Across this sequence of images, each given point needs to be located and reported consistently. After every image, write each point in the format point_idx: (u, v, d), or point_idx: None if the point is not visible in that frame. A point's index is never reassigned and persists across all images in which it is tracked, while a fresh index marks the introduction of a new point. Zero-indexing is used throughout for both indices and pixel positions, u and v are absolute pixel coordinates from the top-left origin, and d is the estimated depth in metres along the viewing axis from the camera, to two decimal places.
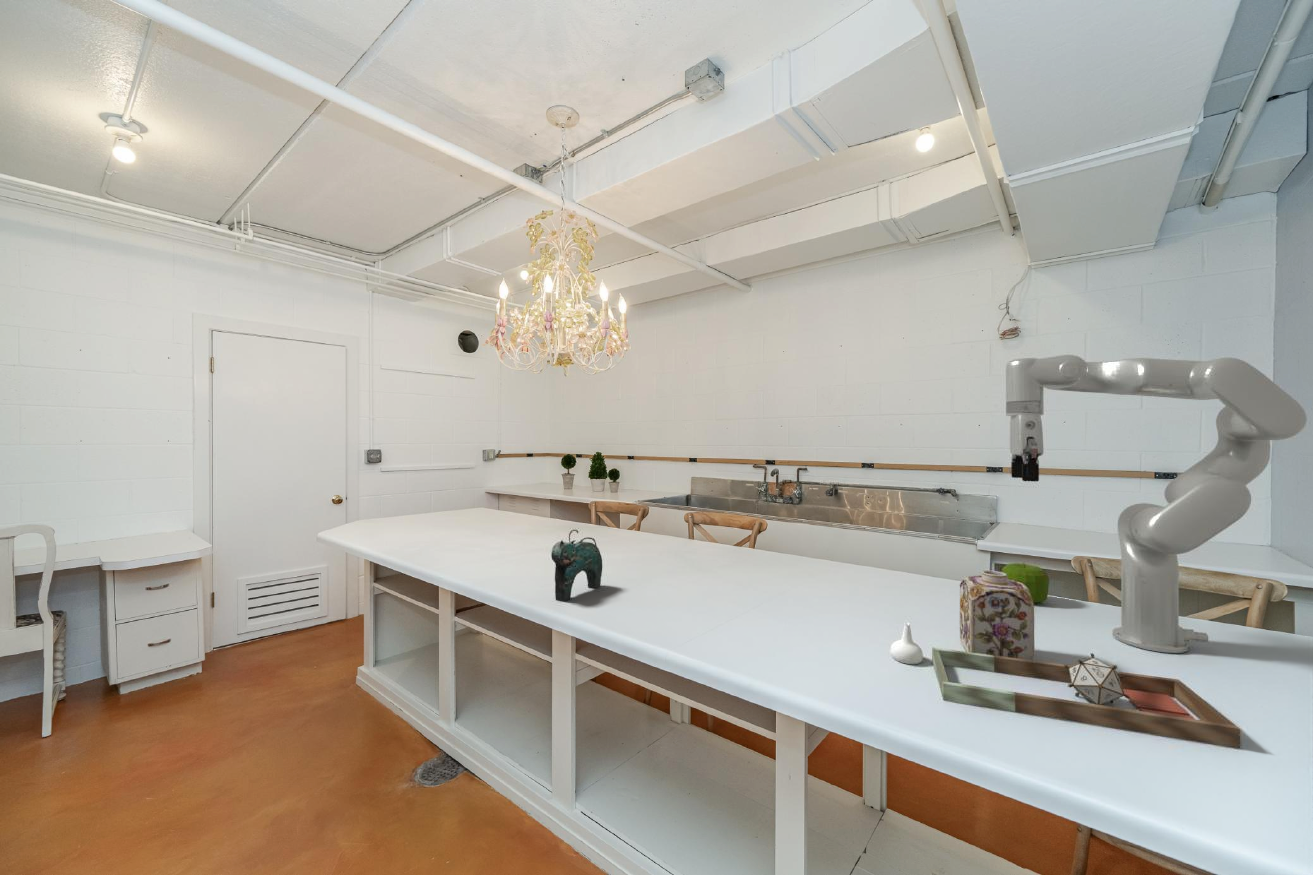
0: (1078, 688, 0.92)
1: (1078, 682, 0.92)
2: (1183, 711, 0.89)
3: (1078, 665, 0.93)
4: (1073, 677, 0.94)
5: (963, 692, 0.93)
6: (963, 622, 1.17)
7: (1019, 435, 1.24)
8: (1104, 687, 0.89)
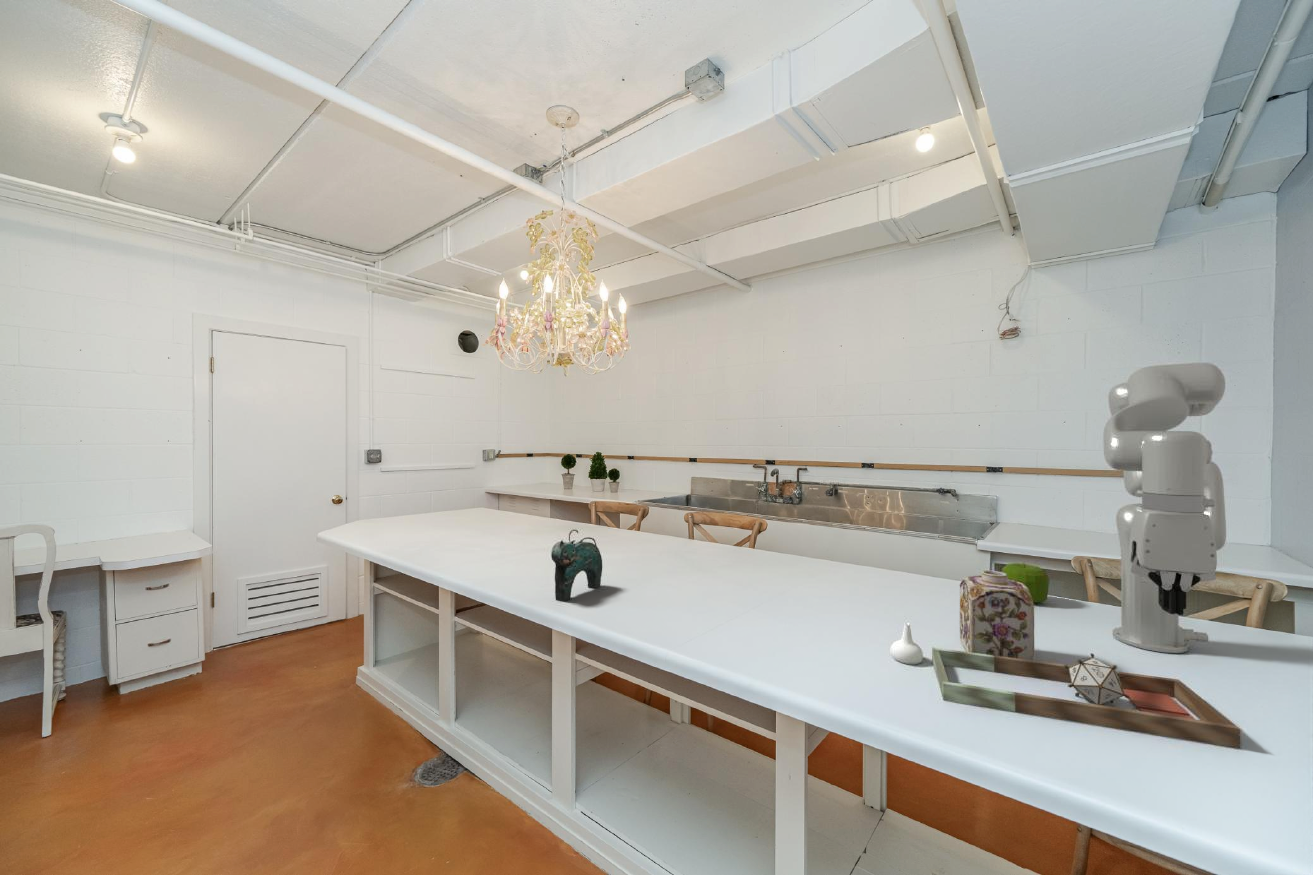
0: (1078, 688, 0.92)
1: (1078, 682, 0.92)
2: (1183, 711, 0.89)
3: (1078, 665, 0.93)
4: (1073, 677, 0.94)
5: (963, 692, 0.93)
6: (963, 622, 1.17)
7: (1213, 545, 0.85)
8: (1104, 687, 0.89)
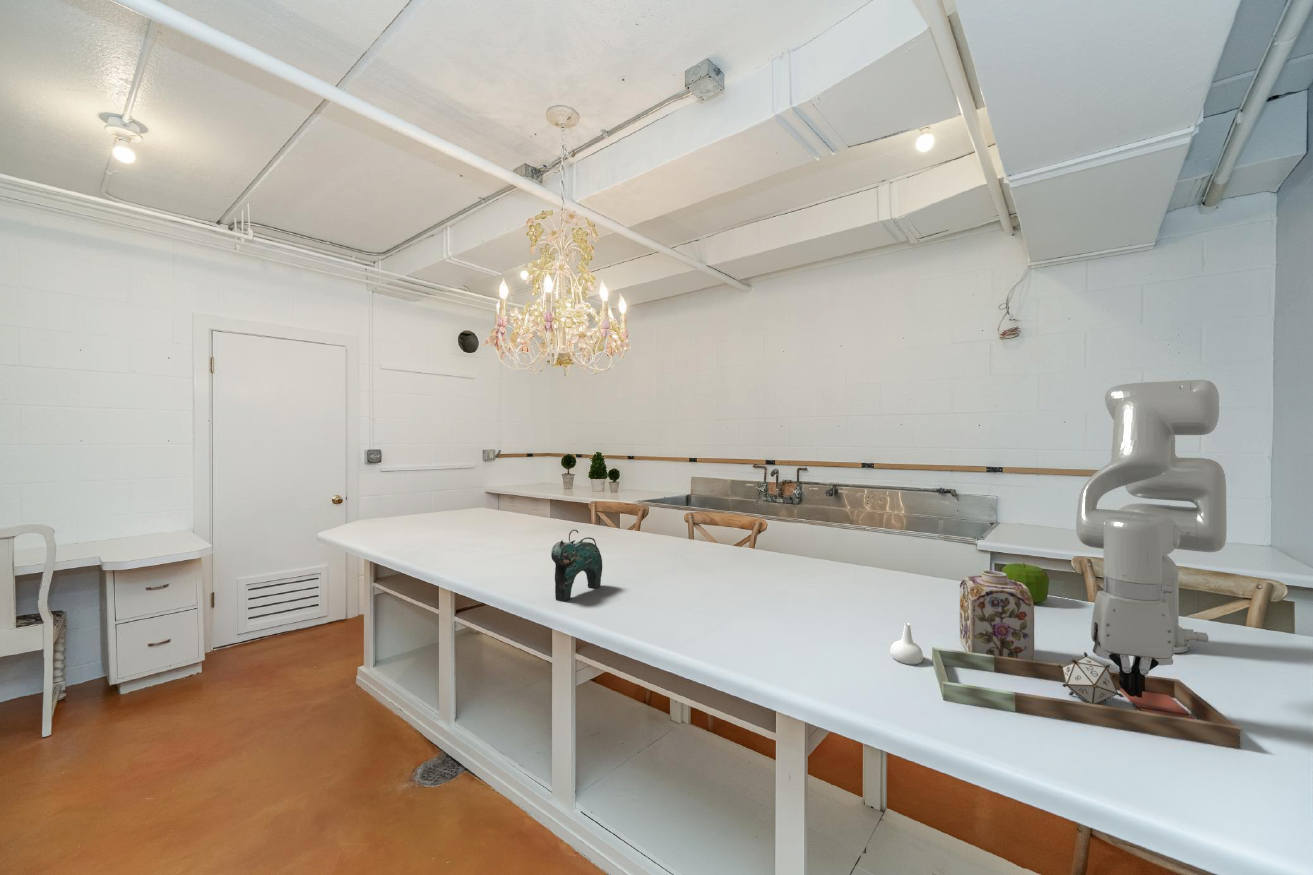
0: (1072, 687, 0.92)
1: (1072, 681, 0.92)
2: (1183, 711, 0.89)
3: (1072, 664, 0.94)
4: (1067, 676, 0.94)
5: (963, 692, 0.93)
6: (963, 622, 1.17)
7: (1170, 632, 0.87)
8: (1098, 686, 0.90)
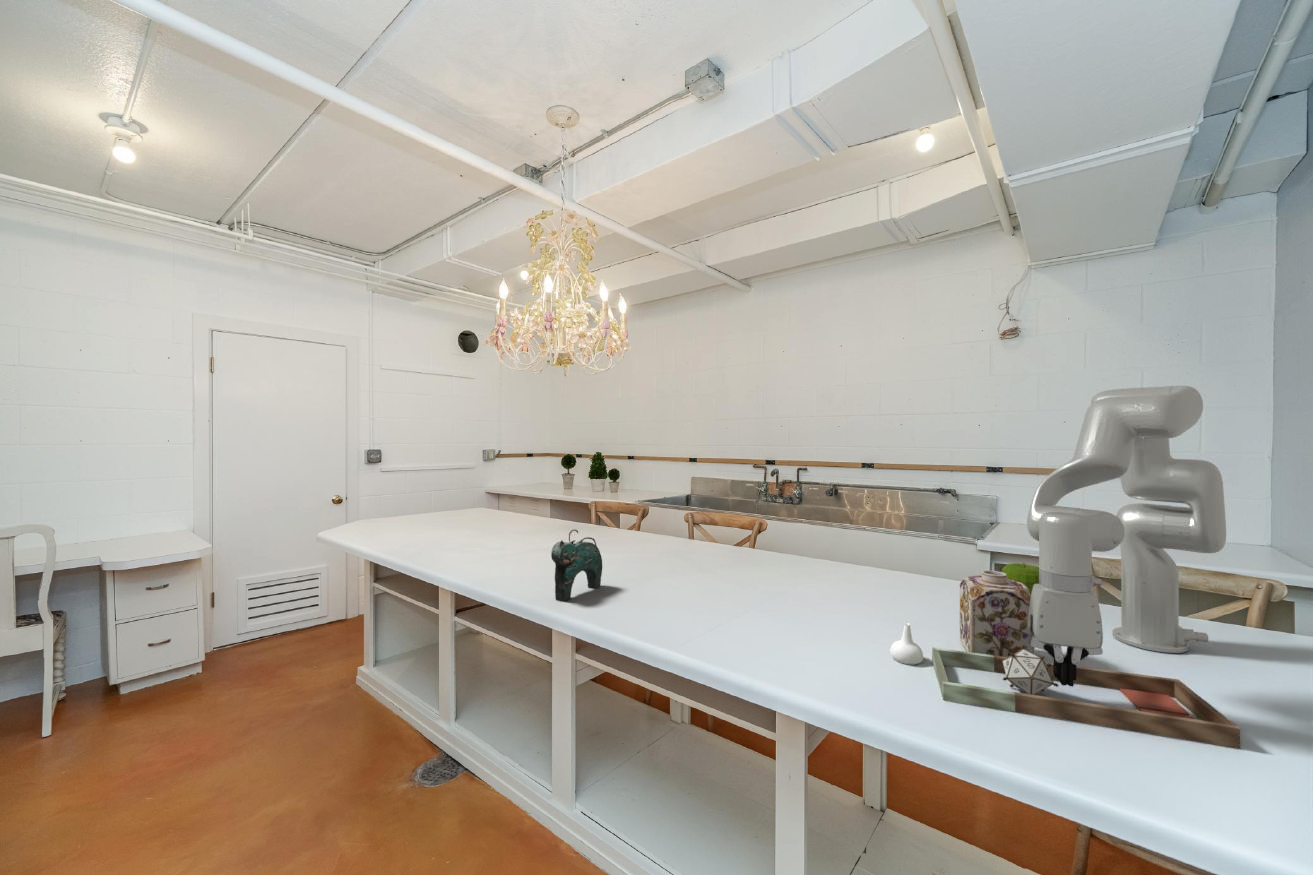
0: (1012, 680, 0.95)
1: (1011, 675, 0.95)
2: (1183, 711, 0.89)
3: (1010, 658, 0.97)
4: (1007, 670, 0.97)
5: (963, 692, 0.93)
6: (963, 622, 1.17)
7: (1099, 623, 0.91)
8: (1035, 678, 0.93)
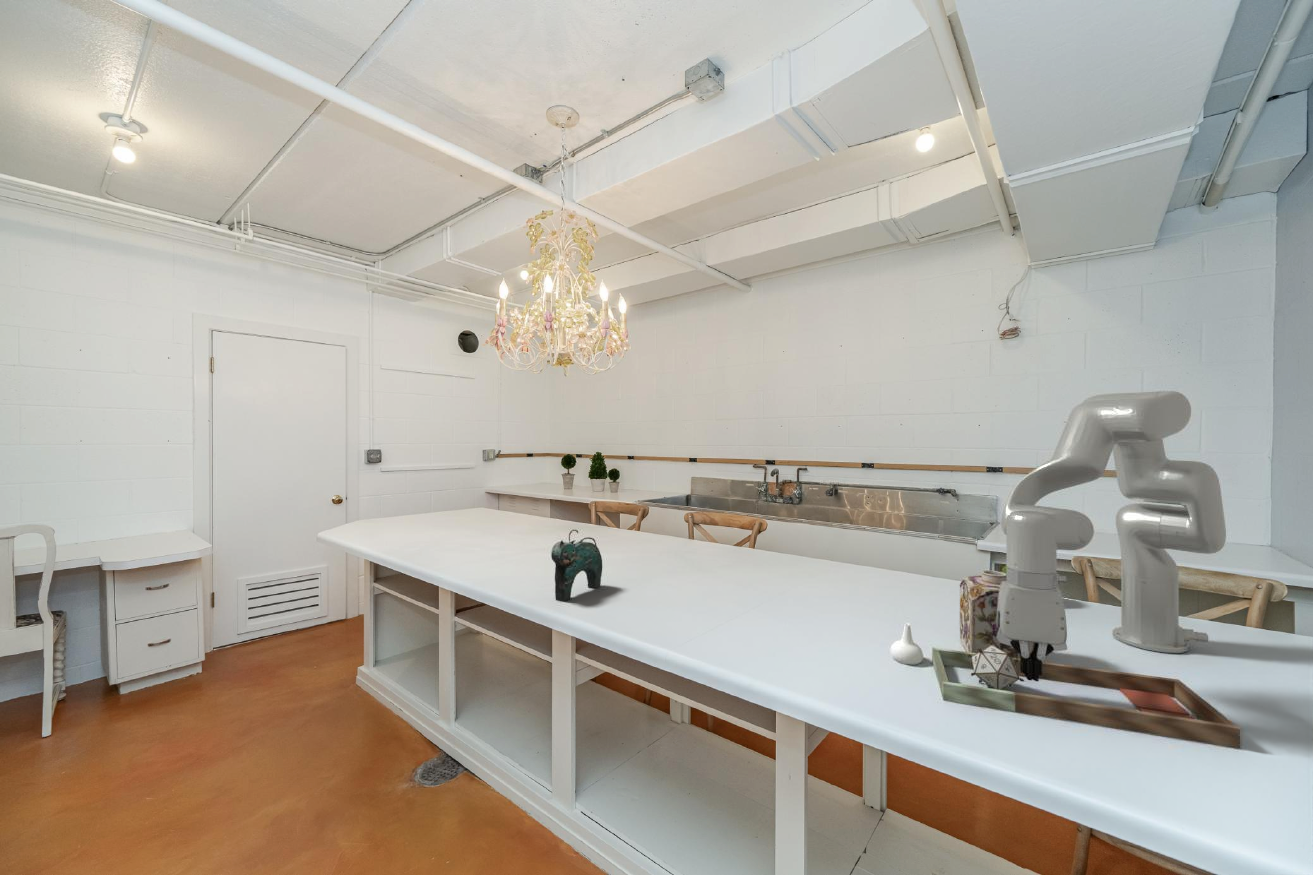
0: (979, 676, 0.97)
1: (979, 670, 0.97)
2: (1183, 711, 0.89)
3: (978, 654, 0.99)
4: (975, 666, 0.99)
5: (963, 692, 0.93)
6: (963, 622, 1.17)
7: (1063, 619, 0.93)
8: (1001, 673, 0.95)
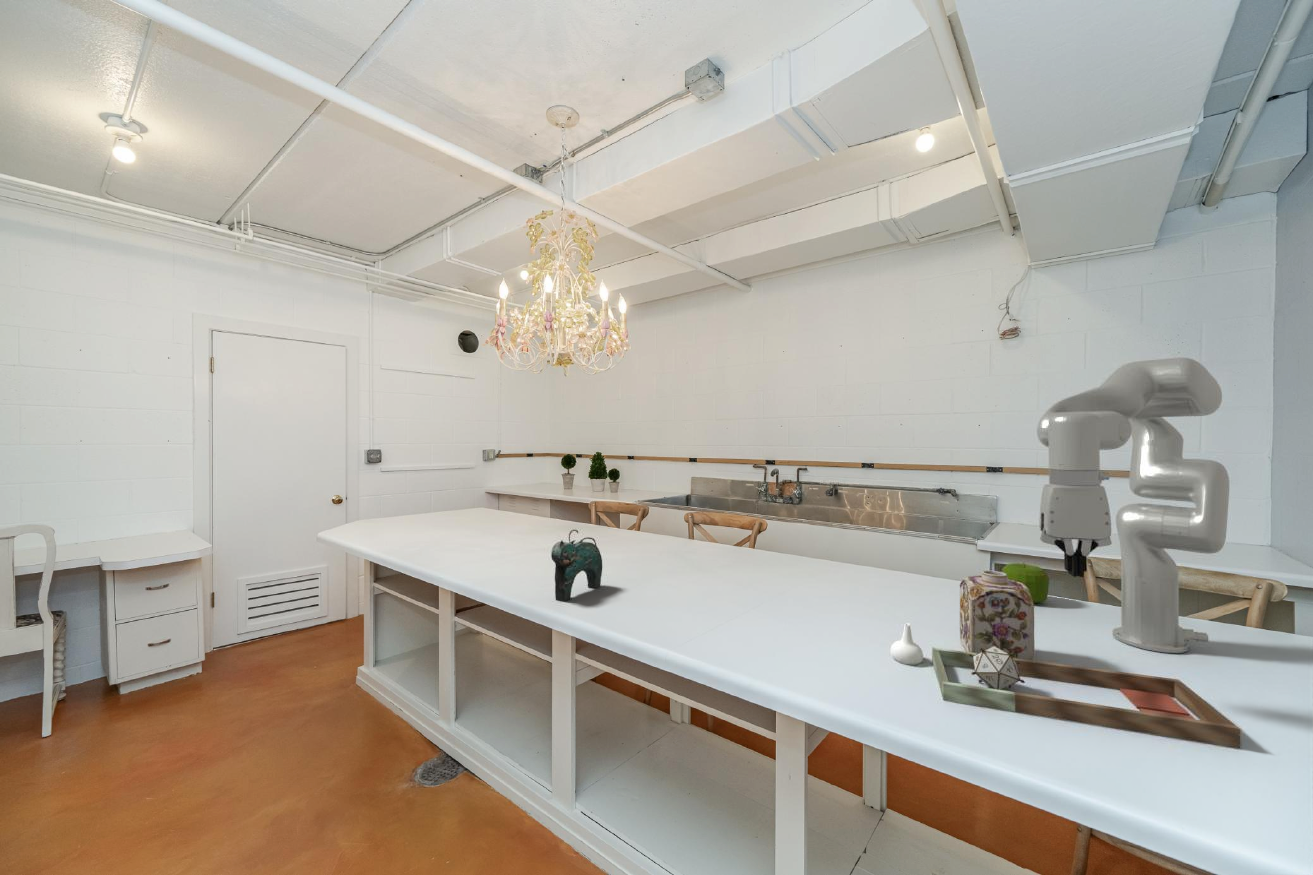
0: (980, 675, 0.98)
1: (980, 669, 0.98)
2: (1183, 711, 0.89)
3: (980, 653, 0.99)
4: (976, 665, 0.99)
5: (963, 692, 0.93)
6: (963, 622, 1.17)
7: (1107, 514, 0.95)
8: (1003, 673, 0.95)
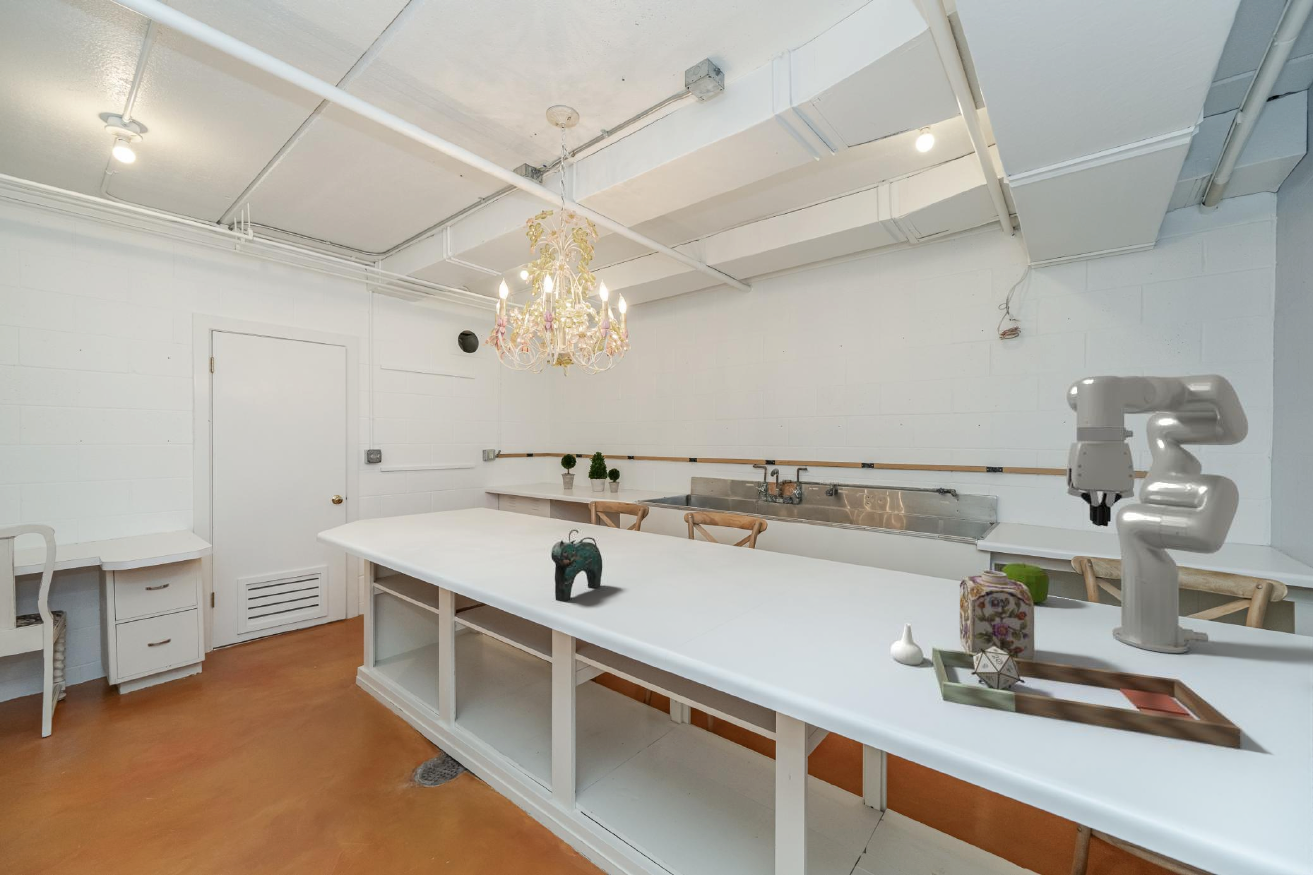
0: (980, 675, 0.98)
1: (980, 669, 0.98)
2: (1183, 711, 0.89)
3: (980, 653, 0.99)
4: (976, 665, 0.99)
5: (963, 692, 0.93)
6: (963, 622, 1.17)
7: (1131, 467, 1.04)
8: (1002, 673, 0.95)
